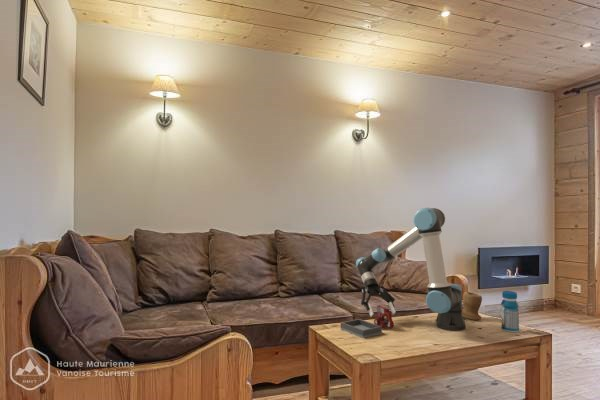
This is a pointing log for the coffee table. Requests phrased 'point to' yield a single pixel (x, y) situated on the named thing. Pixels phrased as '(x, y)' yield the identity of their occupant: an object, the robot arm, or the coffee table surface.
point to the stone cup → (471, 305)
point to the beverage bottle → (510, 312)
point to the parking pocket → (361, 328)
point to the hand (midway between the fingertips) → (383, 314)
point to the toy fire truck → (383, 318)
